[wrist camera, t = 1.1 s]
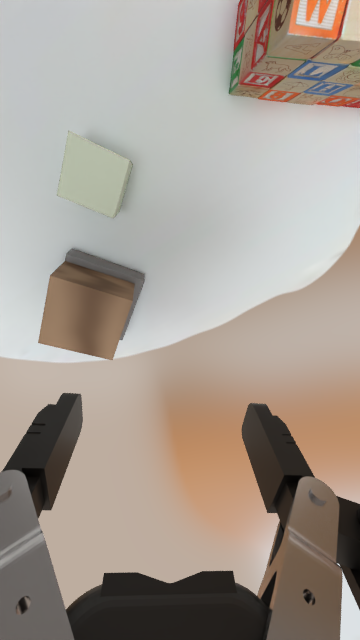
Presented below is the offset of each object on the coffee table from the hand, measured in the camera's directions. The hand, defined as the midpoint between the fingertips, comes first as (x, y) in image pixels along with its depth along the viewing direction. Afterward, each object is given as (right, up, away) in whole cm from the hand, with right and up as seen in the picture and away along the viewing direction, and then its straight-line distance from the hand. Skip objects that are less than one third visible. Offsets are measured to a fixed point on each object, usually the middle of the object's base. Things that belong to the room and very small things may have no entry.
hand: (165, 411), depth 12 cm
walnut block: (-10, +7, +19) cm, 22 cm away
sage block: (-8, +20, +15) cm, 26 cm away
